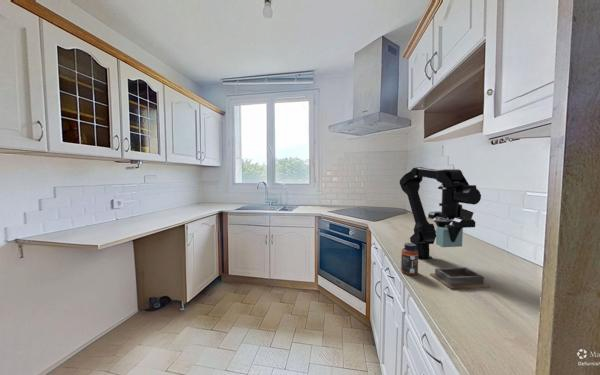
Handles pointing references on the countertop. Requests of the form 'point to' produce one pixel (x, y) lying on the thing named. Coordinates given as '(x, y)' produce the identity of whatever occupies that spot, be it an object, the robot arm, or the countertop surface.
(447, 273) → the socket board
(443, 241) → the cabinet block
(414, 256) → the supplement bottle
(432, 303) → the countertop surface
